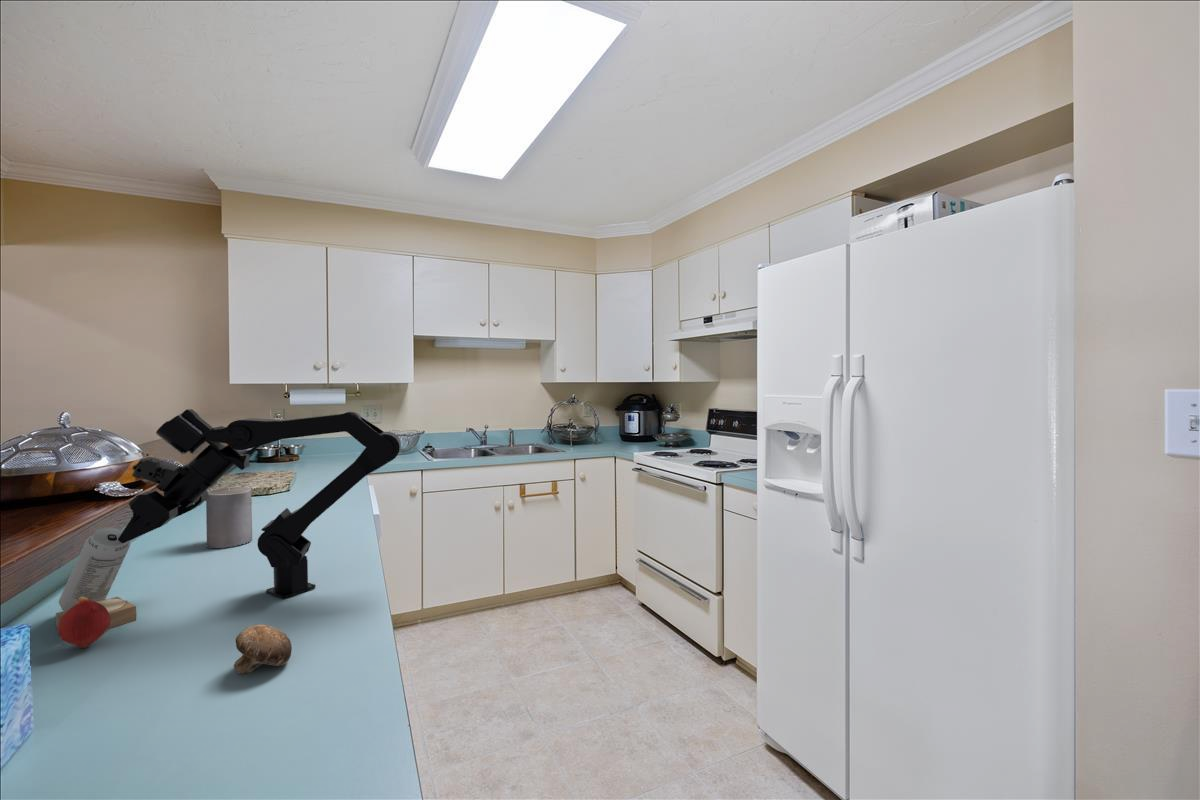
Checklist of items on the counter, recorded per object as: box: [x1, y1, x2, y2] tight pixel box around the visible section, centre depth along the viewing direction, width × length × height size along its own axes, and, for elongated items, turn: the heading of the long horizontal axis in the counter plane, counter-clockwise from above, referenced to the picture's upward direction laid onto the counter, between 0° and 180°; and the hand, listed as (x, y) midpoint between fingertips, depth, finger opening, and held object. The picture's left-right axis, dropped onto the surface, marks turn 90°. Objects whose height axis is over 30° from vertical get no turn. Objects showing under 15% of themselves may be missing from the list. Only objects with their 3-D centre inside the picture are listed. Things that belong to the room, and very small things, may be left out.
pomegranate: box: [57, 597, 111, 649], centre depth 82 cm, size 6×6×8 cm
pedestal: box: [55, 596, 137, 630], centre depth 90 cm, size 8×8×3 cm
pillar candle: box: [205, 485, 253, 549], centre depth 136 cm, size 10×10×15 cm
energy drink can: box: [58, 526, 131, 611], centre depth 93 cm, size 6×6×15 cm
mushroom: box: [233, 623, 292, 675], centre depth 77 cm, size 8×8×6 cm
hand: (134, 534), depth 97 cm, fingers open, 9 cm apart
